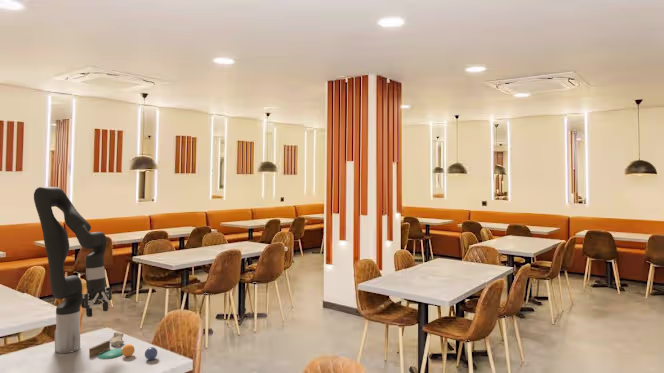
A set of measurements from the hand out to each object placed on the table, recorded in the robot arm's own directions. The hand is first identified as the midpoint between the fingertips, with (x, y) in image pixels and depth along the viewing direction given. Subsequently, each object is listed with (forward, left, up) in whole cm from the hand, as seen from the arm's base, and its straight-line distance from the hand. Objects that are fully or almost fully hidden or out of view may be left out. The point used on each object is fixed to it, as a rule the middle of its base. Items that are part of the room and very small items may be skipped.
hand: (97, 313), depth 189 cm
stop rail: (0, +1, -18) cm, 18 cm away
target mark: (+6, +1, -18) cm, 19 cm away
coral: (-2, +13, -18) cm, 22 cm away
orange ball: (+15, +1, -15) cm, 21 cm away
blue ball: (+27, +1, -15) cm, 31 cm away
